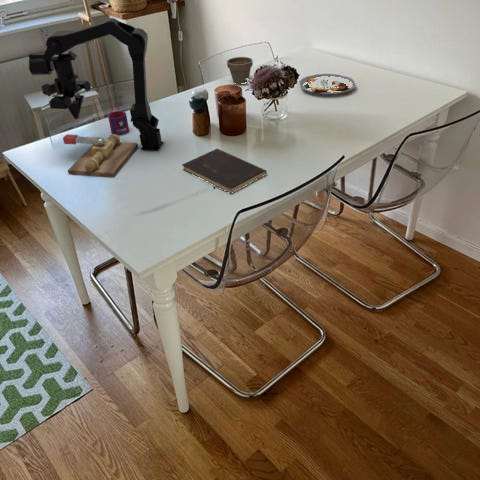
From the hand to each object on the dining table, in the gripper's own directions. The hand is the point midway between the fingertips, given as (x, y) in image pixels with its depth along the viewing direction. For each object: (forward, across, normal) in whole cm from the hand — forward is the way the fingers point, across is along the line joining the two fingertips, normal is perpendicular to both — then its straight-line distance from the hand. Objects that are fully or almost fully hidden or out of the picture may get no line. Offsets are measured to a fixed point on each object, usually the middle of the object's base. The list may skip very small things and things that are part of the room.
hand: (76, 118), depth 177 cm
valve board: (+12, +7, +11) cm, 17 cm away
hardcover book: (+12, +10, +54) cm, 56 cm away
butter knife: (+12, +29, +44) cm, 54 cm away
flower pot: (+12, -72, +42) cm, 84 cm away
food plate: (+12, -69, +81) cm, 107 cm away
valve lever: (+6, +7, +5) cm, 10 cm away
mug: (+12, -17, +6) cm, 22 cm away
